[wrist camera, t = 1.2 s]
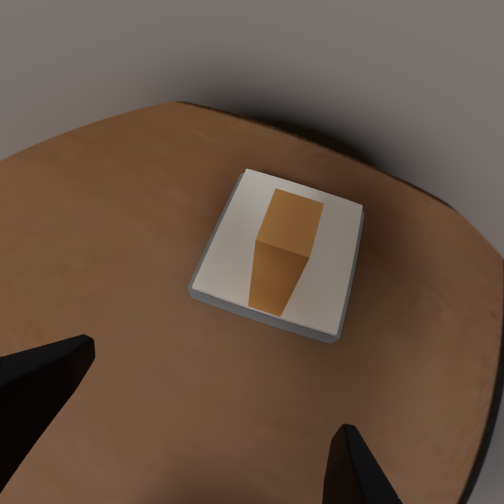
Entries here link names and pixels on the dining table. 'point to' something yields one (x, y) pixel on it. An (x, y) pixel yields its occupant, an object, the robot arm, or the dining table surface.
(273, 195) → the lid
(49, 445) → the dining table surface
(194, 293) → the gray carton
